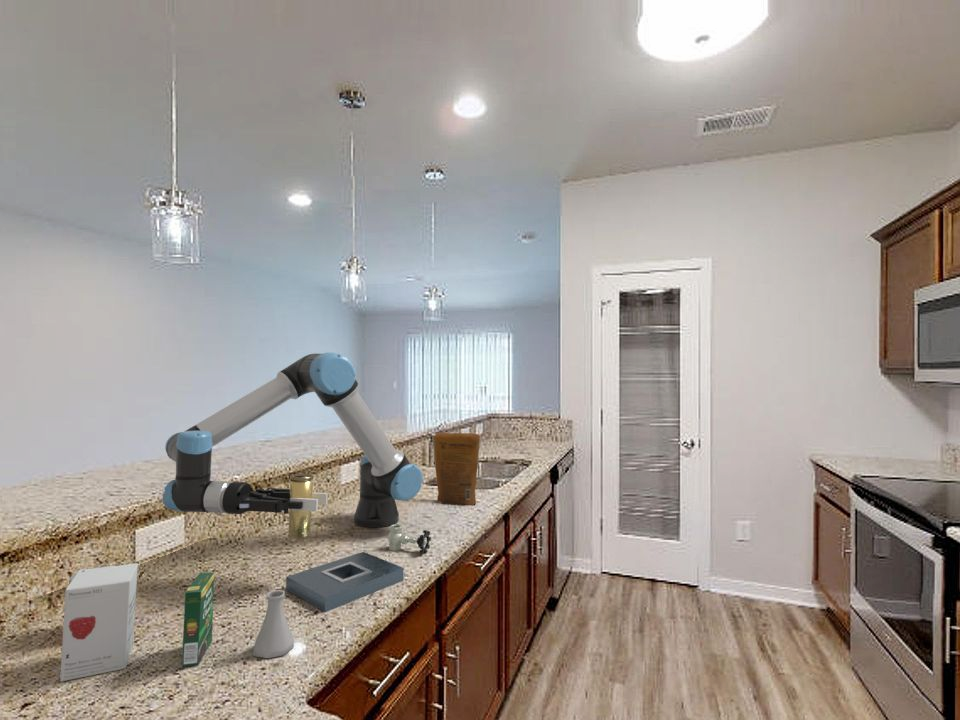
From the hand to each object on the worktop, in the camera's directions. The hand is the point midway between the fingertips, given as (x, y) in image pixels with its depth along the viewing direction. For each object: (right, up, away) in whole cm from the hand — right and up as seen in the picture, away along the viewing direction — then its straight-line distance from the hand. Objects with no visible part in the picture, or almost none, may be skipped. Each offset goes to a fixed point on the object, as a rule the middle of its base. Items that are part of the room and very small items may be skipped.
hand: (321, 502), depth 118 cm
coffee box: (-13, -19, -30) cm, 38 cm away
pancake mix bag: (+28, -23, +76) cm, 84 cm away
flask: (0, -19, -27) cm, 33 cm away
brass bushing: (-5, -8, 0) cm, 10 cm away
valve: (+17, -21, +24) cm, 36 cm away
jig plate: (+6, -20, 0) cm, 21 cm away
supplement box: (-28, -18, -33) cm, 47 cm away
